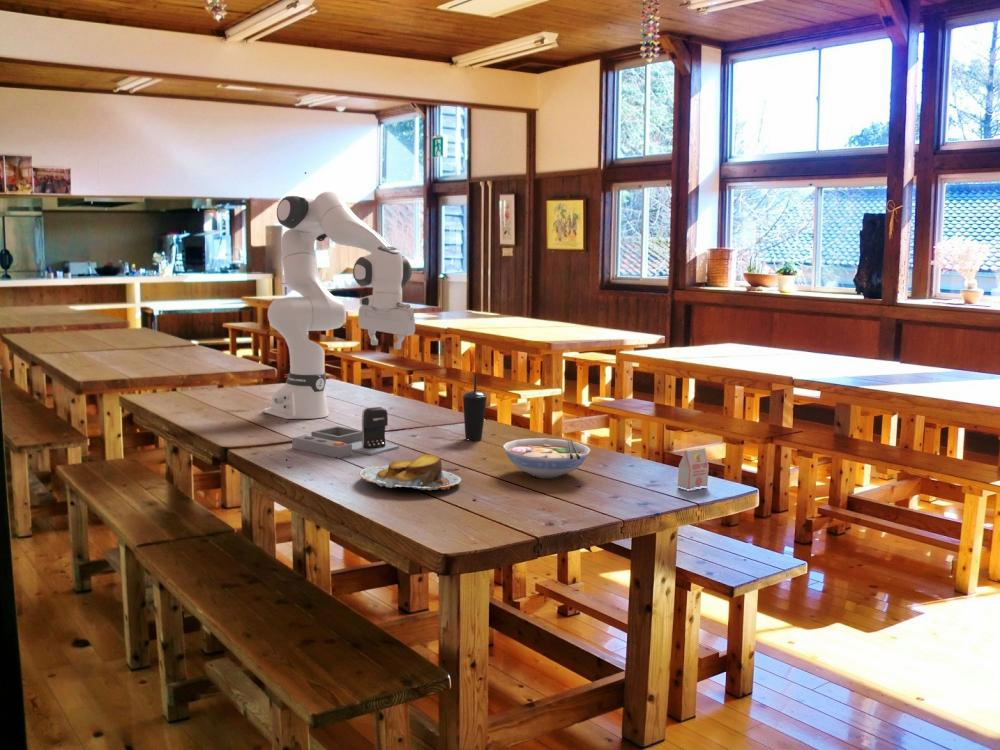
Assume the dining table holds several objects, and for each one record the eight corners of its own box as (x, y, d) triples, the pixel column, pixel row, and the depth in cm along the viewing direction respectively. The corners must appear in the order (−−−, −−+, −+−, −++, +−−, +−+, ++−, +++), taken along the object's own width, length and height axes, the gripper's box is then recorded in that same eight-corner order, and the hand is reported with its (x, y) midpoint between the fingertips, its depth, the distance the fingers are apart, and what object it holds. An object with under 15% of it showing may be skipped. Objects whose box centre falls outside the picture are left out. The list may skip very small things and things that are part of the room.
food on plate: (350, 475, 247) (350, 450, 246) (443, 470, 256) (444, 445, 255) (372, 502, 223) (373, 474, 222) (474, 495, 232) (475, 468, 231)
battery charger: (367, 450, 271) (367, 409, 269) (360, 447, 274) (361, 407, 272) (389, 447, 275) (389, 407, 273) (382, 444, 278) (383, 405, 276)
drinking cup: (456, 440, 290) (458, 374, 287) (466, 435, 297) (468, 371, 294) (480, 443, 287) (482, 376, 284) (489, 438, 294) (491, 373, 291)
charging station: (283, 446, 274) (283, 433, 274) (337, 434, 293) (337, 422, 292) (339, 458, 263) (339, 445, 262) (391, 445, 281) (392, 432, 280)
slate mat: (339, 448, 274) (339, 446, 274) (367, 441, 284) (367, 439, 284) (371, 455, 267) (371, 453, 267) (399, 448, 277) (399, 445, 277)
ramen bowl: (503, 461, 265) (504, 432, 264) (586, 465, 265) (588, 436, 263) (500, 485, 240) (501, 453, 239) (592, 489, 240) (593, 457, 239)
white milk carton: (677, 488, 244) (679, 449, 243) (696, 484, 248) (699, 446, 247) (687, 491, 241) (690, 452, 240) (707, 488, 245) (709, 449, 243)
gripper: (420, 304, 287) (418, 350, 289) (369, 297, 298) (368, 341, 301) (406, 305, 282) (404, 352, 284) (355, 298, 293) (354, 343, 296)
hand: (385, 346), depth 292 cm, fingers open, 8 cm apart
